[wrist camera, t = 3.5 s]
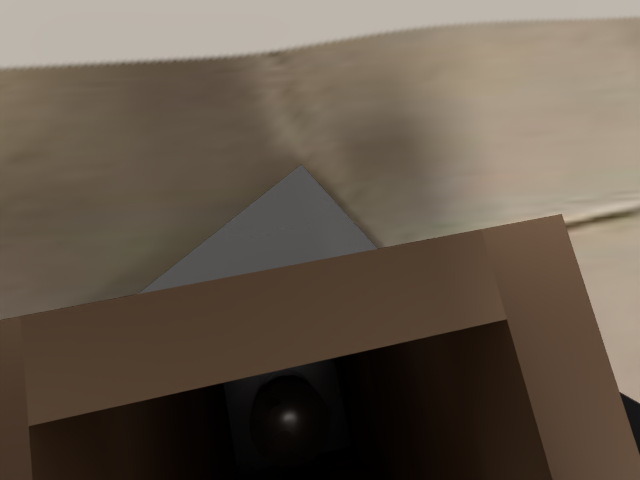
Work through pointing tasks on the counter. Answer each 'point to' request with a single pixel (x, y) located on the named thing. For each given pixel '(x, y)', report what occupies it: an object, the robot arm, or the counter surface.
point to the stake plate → (291, 383)
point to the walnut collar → (350, 362)
